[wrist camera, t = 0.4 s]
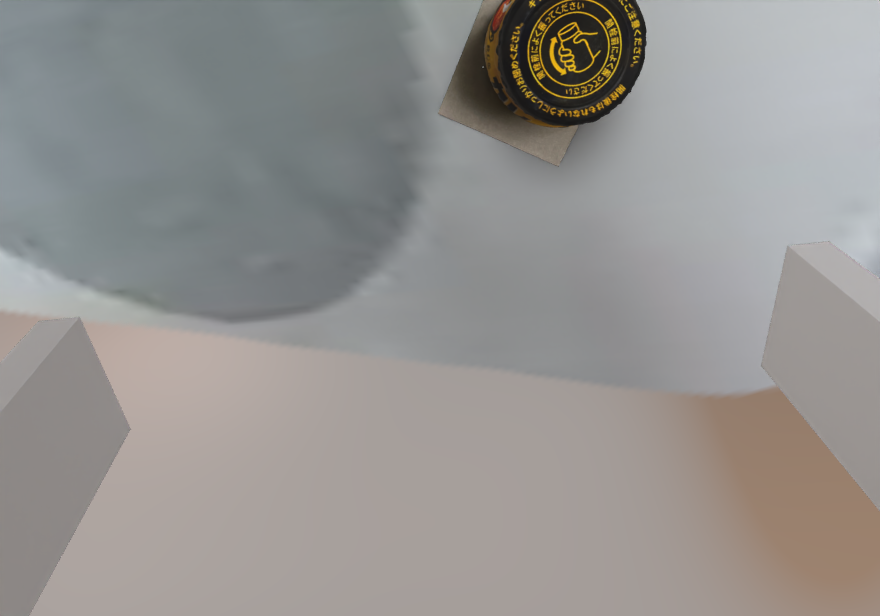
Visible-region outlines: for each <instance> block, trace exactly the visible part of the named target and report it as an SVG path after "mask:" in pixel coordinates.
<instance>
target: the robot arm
mask: <svg viewBox="0 0 880 616" xmlns="http://www.w3.org/2000/svg"><path fill="white" fill-rule="evenodd" d="M761 366H762V368H763V369H764V370H765V371H766V372H767V374H768V375H769V376H770V377H771V379H772V380H773V381H774V382H775V383H776V385H777V386H778V387H779V388H780V390H781V391H782V392H783V393H784V394H785V396H786V397H787V398H788V399H789V401H790V402H791V403H792V404H793V406H794V407H795V408H796V409H797V410H798V412H799V413H800V414H801V415H802V417H803V418H804V419H805V420H806V421H807V423H808V424H809V425H810V426H811V427H812V429H813V430H814V431H815V432H816V434H817V435H818V436H819V437H820V439H821V440H822V441H823V442H824V443H825V445H826V446H827V447H828V448H829V450H830V451H831V452H832V453H833V454H834V456H835V457H836V458H837V459H838V461H839V462H840V463H841V464H842V465H843V467H844V468H845V469H846V470H847V472H848V473H849V474H850V475H851V476H852V478H853V479H854V480H855V481H856V483H857V484H858V485H859V486H860V487H861V489H862V490H863V491H864V492H865V494H866V495H867V496H868V497H869V499H871V501H872V502H873V503H874V505H875V506H876V507H877V508H878V510H879V511H880V279H879V278H878V277H877V276H875V275H874V274H873V273H871V272H870V271H869V270H867V269H866V268H864V267H863V266H862V265H860V264H859V263H858V262H856V261H855V260H854V259H852V258H851V257H850V256H848V255H847V254H845V253H844V252H843V251H841V250H840V249H839V248H837V247H836V246H835V245H833V244H832V243H831V242H829V241H828V242H818V243H808V244H798V245H788V246H787V250H786V255H785V259H784V264H783V268H782V273H781V277H780V282H779V286H778V291H777V296H776V300H775V305H774V309H773V314H772V318H771V323H770V327H769V332H768V336H767V341H766V345H765V350H764V354H763V359H762V363H761ZM129 431H130V427H129V424H128V422H127V420H126V418H125V415H124V413H123V411H122V409H121V407H120V404H119V402H118V400H117V398H116V395H115V394H114V391H113V389H112V387H111V385H110V382H109V380H108V378H107V376H106V374H105V371H104V369H103V367H102V365H101V363H100V361H99V358H98V356H97V354H96V352H95V349H94V347H93V345H92V343H91V341H90V338H89V336H88V334H87V332H86V330H85V327H84V325H83V323H82V321H81V319H80V317H74V318H64V319H54V320H45V321H38V322H37V323H36V324H35V325H34V326H33V328H32V329H31V330H30V331H29V332H28V333H27V334H26V335H25V336H24V337H23V338H22V340H20V342H19V343H18V344H17V345H16V346H15V347H14V348H13V349H12V350H11V351H10V352H9V353H8V355H7V356H6V357H5V358H4V359H3V360H2V361H1V362H0V616H29V615H30V613H31V612H32V610H33V608H34V606H35V604H36V602H37V601H38V599H39V597H40V595H41V593H42V591H43V589H44V588H45V586H46V583H47V582H48V580H49V578H50V577H51V575H52V573H53V571H54V569H55V567H56V565H57V564H58V562H59V560H60V558H61V556H62V554H63V552H64V551H65V549H66V547H67V545H68V543H69V542H70V540H71V538H72V536H73V534H74V532H75V531H76V529H77V527H78V525H79V523H80V521H81V519H82V518H83V516H84V514H85V512H86V510H87V508H88V507H89V505H90V503H91V501H92V499H93V497H94V496H95V494H96V492H97V490H98V488H99V486H100V485H101V483H102V481H103V479H104V477H105V475H106V474H107V472H108V470H109V468H110V466H111V464H112V462H113V461H114V459H115V457H116V455H117V453H118V451H119V449H120V448H121V446H122V444H123V442H124V440H125V439H126V437H127V435H128V433H129Z"/></svg>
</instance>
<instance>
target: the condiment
mask: <svg viewBox="0 0 880 616" xmlns="http://www.w3.org/2000/svg"><path fill="white" fill-rule="evenodd" d="M645 46H646V26H645V21H644V18H643V15H642V13H641V11H640V8H639V6H638V4H637V2H636V0H483V3H482V5H481V8H480V10H479V13H478V15H477V18H476V20H475V23H474V25H473V28H472V30H471V33H470V35H469V37H468V40H467V42H466V45H465V47H464V50H463V52H462V55H461V57H460V60H459V62H458V65H457V67H456V70H455V72H454V75H453V77H452V80H451V82H450V85H449V87H448V90H447V92H446V95H445V97H444V100H443V102H442V105H441V107H440V110H439V112H438V114H440V115H443V116H445V117H447V118H449V119H452V120H454V121H457V122H459V123H461V124H463V125H466V126H468V127H470V128H472V129H475V130H477V131H479V132H481V133H484V134H486V135H489V136H491V137H493V138H495V139H497V140H500V141H502V142H504V143H507V144H509V145H511V146H513V147H515V148H518V149H520V150H522V151H524V152H527V153H529V154H531V155H534V156H536V157H538V158H540V159H542V160H545V161H547V162H549V163H551V164H554V165H556V166H559V164H560V162H561V160H562V158H563V156H564V155H565V152H566V150H567V148H568V146H569V144H570V142H571V140H572V138H573V136H574V134H575V132H576V130H577V128H578V125H581V124H584V123H590V122H594V121H597V120H599V119H600V118H601V117H603V116H605V115H607V114H609V113H610V111H611V110H613V109H614V108H615V107H616V106H617V105H618V104H621V103H622V101H623V100H624V99H625V97H626V96H627V95H628V93H630V92H631V89H632V87H633V86H634V84H635V81H636V80H637V78H638V76H639V74H640V71H641V69H642V66H643V63H644V59H645ZM482 66H484V68H482Z"/></svg>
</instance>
